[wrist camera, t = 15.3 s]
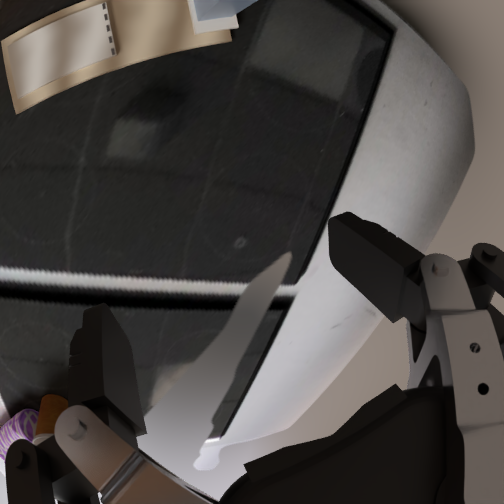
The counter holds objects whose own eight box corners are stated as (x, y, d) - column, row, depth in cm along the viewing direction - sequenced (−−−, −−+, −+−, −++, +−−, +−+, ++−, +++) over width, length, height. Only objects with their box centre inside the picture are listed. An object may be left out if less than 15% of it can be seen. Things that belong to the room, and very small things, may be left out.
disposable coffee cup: (27, 389, 40) (23, 442, 31) (68, 387, 44) (69, 442, 34) (45, 415, 45) (46, 463, 35) (83, 413, 48) (88, 463, 39)
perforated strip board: (18, 113, 23) (13, 114, 22) (4, 42, 18) (-2, 40, 16) (229, 41, 29) (234, 39, 28) (214, -26, 23) (219, -31, 22)
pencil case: (22, 442, 47) (22, 473, 39) (-8, 428, 41) (-10, 459, 33) (54, 415, 46) (55, 452, 38) (18, 397, 40) (14, 435, 33)
